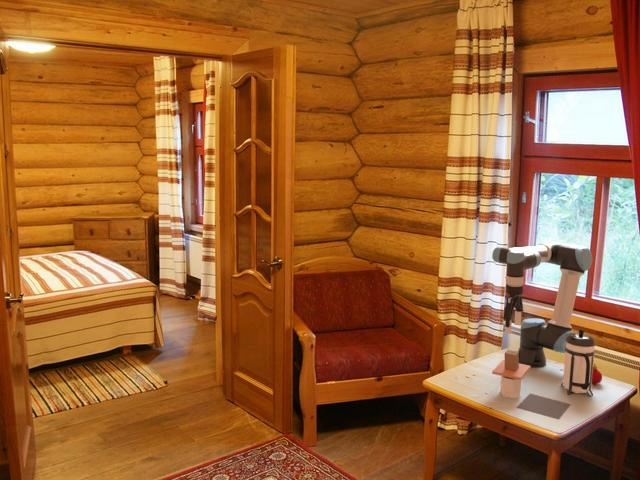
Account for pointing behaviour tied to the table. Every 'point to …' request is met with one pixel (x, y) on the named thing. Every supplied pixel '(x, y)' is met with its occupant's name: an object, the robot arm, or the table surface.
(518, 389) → the jar
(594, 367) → the christmas ornament
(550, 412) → the mat
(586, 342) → the coffee press
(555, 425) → the table surface
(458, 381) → the table surface
